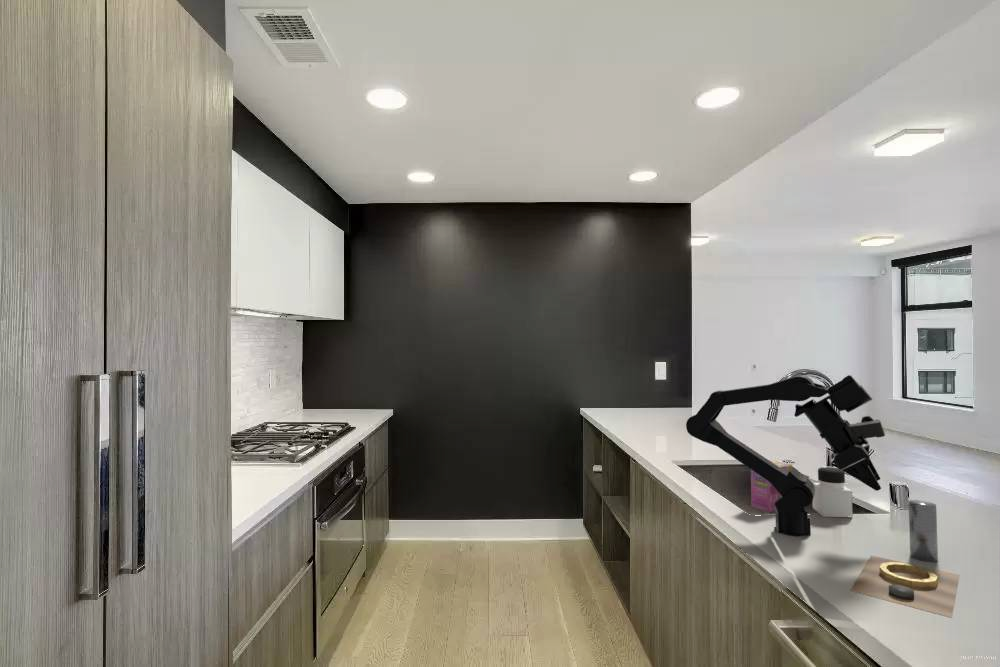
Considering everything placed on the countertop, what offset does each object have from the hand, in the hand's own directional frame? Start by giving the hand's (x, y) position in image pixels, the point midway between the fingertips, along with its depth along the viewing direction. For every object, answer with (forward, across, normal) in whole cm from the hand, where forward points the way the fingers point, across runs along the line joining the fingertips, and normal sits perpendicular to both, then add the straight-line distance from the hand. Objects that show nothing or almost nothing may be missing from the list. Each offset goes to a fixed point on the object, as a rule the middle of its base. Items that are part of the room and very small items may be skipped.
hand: (878, 484), depth 115 cm
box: (-2, +21, +28) cm, 35 cm away
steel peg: (+16, -2, +2) cm, 16 cm away
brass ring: (+13, -15, +4) cm, 21 cm away
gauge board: (+14, -18, +5) cm, 23 cm away
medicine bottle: (+6, +23, +17) cm, 29 cm away
